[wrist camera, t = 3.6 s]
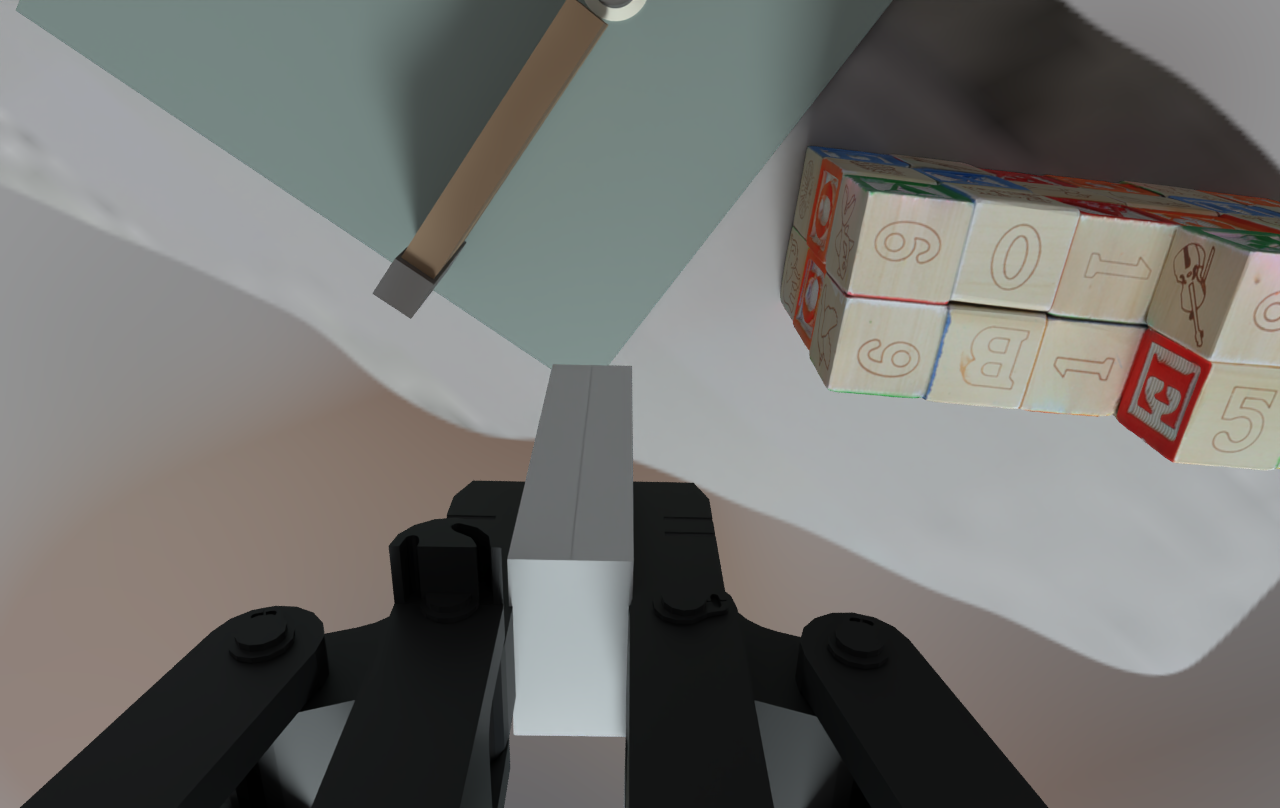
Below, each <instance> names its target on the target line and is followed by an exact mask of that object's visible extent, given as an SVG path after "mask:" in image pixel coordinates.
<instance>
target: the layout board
mask: <svg viewBox="0 0 1280 808" xmlns="http://www.w3.org/2000/svg"><path fill="white" fill-rule="evenodd" d="M565 1H566V0H20V1H19V4H18V6H17V8H16V11H17V12H19V13H20V14H22V15H23V16H25V17H26V18H28V19H29V20H31V21H32V22H34V23H35V24H37V25H38V26H40V27H41V28H43V29H44V30H46V31H47V32H49V33H50V34H52V35H53V36H55V37H56V38H58V39H59V40H61V41H62V42H64V43H65V44H67V45H68V46H70V47H71V48H73V49H74V50H76V51H77V52H79V53H80V54H82V55H83V56H85V57H86V58H87V59H89V60H90V61H92V62H93V63H95V64H96V65H98V66H99V67H101V68H102V69H104V70H105V71H107V72H108V73H110V74H111V75H113V76H114V77H116V78H117V79H119V80H120V81H122V82H123V83H125V84H126V85H128V86H129V87H131V88H132V89H134V90H135V91H137V92H138V93H140V94H141V95H143V96H144V97H146V98H147V99H149V100H150V101H152V102H153V103H155V104H156V105H158V106H159V107H161V108H162V109H164V110H165V111H167V112H168V113H170V114H171V115H173V116H174V117H176V118H177V119H179V120H180V121H182V122H183V123H185V124H186V125H187V126H189V127H190V128H192V129H193V130H195V131H196V132H198V133H199V134H201V135H202V136H204V137H205V138H207V139H208V140H210V141H211V142H213V143H214V144H216V145H217V146H219V147H220V148H222V149H223V150H225V151H226V152H228V153H229V154H231V155H232V156H234V157H235V158H237V159H238V160H240V161H241V162H243V163H244V164H246V165H247V166H249V167H250V168H252V169H253V170H255V171H256V172H258V173H259V174H261V175H262V176H264V177H265V178H267V179H268V180H270V181H271V182H273V183H274V184H276V185H277V186H279V187H280V188H282V189H283V190H284V191H286V192H287V193H289V194H290V195H292V196H293V197H295V198H296V199H298V200H299V201H301V202H302V203H304V204H305V205H307V206H308V207H310V208H311V209H313V210H314V211H316V212H317V213H319V214H320V215H322V216H323V217H325V218H326V219H328V220H329V221H331V222H332V223H334V224H335V225H337V226H338V227H340V228H341V229H343V230H344V231H346V232H347V233H349V234H350V235H352V236H353V237H355V238H356V239H358V240H359V241H361V242H362V243H364V244H365V245H367V246H368V247H370V248H371V249H373V250H374V251H376V252H377V253H379V254H380V255H382V256H383V257H384V258H386V259H387V260H389V261H390V262H393V261H394V259H395V258H396V257H397V256H398V255H399V254H400V253H401V252H402V251H403V250H404V249H405V248H406V247H408V246H409V244H410V242H411V241H412V239H413V238H414V236H415V235H416V233H417V232H418V230H419V228H420V227H421V225H422V224H423V222H424V221H425V219H426V218H427V216H428V214H429V213H430V211H431V210H432V208H433V207H434V205H435V204H436V202H437V200H438V199H439V197H440V196H441V194H442V193H443V191H444V190H445V188H446V186H447V185H448V183H449V182H450V180H451V179H452V177H453V176H454V174H455V172H456V171H457V169H458V168H459V166H460V165H461V163H462V162H463V160H464V158H465V157H466V155H467V154H468V152H469V151H470V149H471V148H472V146H473V144H474V143H475V141H476V140H477V138H478V137H479V135H480V134H481V132H482V130H483V129H484V127H485V126H486V124H487V123H488V121H489V120H490V118H491V116H492V115H493V113H494V112H495V110H496V109H497V107H498V106H499V104H500V102H501V101H502V99H503V98H504V96H505V95H506V93H507V92H508V90H509V88H510V87H511V85H512V84H513V82H514V81H515V79H516V78H517V76H518V74H519V73H520V71H521V70H522V68H523V67H524V65H525V64H526V62H527V60H528V59H529V57H530V56H531V54H532V53H533V51H534V50H535V48H536V46H537V45H538V43H539V42H540V40H541V39H542V37H543V36H544V34H545V32H546V31H547V29H548V28H549V26H550V25H551V23H552V22H553V20H554V18H555V17H556V15H557V14H558V12H559V11H560V9H561V8H562V6H563V4H564V3H565ZM578 1H580V2H581V3H582V4H583V5H585V6H586V7H587V8H588V9H590V10H591V11H592V12H593V13H595V14H596V15H597V16H598V17H599V18H601V19H602V20H603V21H604V22H606V23H607V24H608V27H607V28H606V30H605V31H604V33H603V34H602V36H601V37H600V39H599V40H598V42H597V43H596V45H595V46H594V48H593V49H592V51H591V52H590V54H589V55H588V57H587V58H586V60H585V61H584V63H583V64H582V66H581V67H580V69H579V70H578V72H577V73H576V75H575V76H574V78H573V79H572V81H571V82H570V84H569V85H568V87H567V88H566V90H565V91H564V93H563V94H562V96H561V97H560V99H559V100H558V102H557V103H556V105H555V106H554V108H553V109H552V111H551V112H550V114H549V115H548V117H547V118H546V120H545V121H544V123H543V124H542V126H541V127H540V129H539V130H538V132H537V133H536V135H535V136H534V138H533V139H532V141H531V142H530V143H529V145H528V146H527V148H526V149H525V151H524V152H523V154H522V155H521V157H520V158H519V160H518V161H517V163H516V164H515V166H514V167H513V169H512V170H511V172H510V173H509V175H508V176H507V178H506V179H505V181H504V182H503V184H502V185H501V187H500V188H499V190H498V191H497V193H496V194H495V196H494V197H493V199H492V200H491V202H490V203H489V205H488V206H487V208H486V209H485V211H484V212H483V214H482V215H481V217H480V218H479V220H478V221H477V223H476V224H475V226H474V227H473V229H472V230H471V232H470V233H469V235H468V236H467V238H466V239H465V242H467V243H466V244H465V246H464V247H463V249H462V250H461V252H460V253H459V255H458V256H457V258H456V259H455V261H454V262H453V264H452V265H451V267H450V268H449V270H448V271H447V273H446V274H445V275H444V276H443V278H442V279H441V280H440V282H439V283H438V284H437V286H436V287H435V288H434V289H433V290H434V291H435V292H437V293H438V294H440V295H441V296H443V297H444V298H446V299H447V300H449V301H450V302H452V303H453V304H455V305H456V306H458V307H459V308H461V309H462V310H464V311H465V312H467V313H468V314H470V315H471V316H473V317H474V318H476V319H477V320H479V321H480V322H481V323H483V324H484V325H486V326H487V327H489V328H490V329H492V330H493V331H495V332H496V333H498V334H499V335H501V336H502V337H504V338H505V339H507V340H508V341H510V342H511V343H513V344H514V345H516V346H517V347H519V348H520V349H522V350H523V351H525V352H526V353H528V354H529V355H531V356H532V357H534V358H535V359H537V360H538V361H540V362H541V363H543V364H544V365H546V366H547V367H549V368H550V369H552V366H553V364H565V365H607V366H608V365H609V364H610V363H611V361H612V360H613V359H614V357H615V356H616V355H617V354H618V352H619V351H620V350H621V348H622V347H623V346H624V345H625V343H626V342H627V341H628V339H629V338H630V337H631V336H632V334H633V333H634V332H635V330H636V329H637V328H638V327H639V325H640V324H641V323H642V321H643V320H644V319H645V318H646V316H647V315H648V314H649V312H650V311H651V310H652V309H653V307H654V306H655V305H656V303H657V302H658V301H659V300H660V298H661V297H662V296H663V295H664V293H665V292H666V291H667V289H668V288H669V287H670V286H671V284H672V283H673V282H674V280H675V279H676V278H677V277H678V275H679V274H680V273H681V271H682V270H683V269H684V268H685V266H686V265H687V264H688V262H689V261H690V260H691V259H692V257H693V256H694V255H695V253H696V252H697V251H698V250H699V248H700V247H701V246H702V244H703V243H704V242H705V241H706V239H707V238H708V237H709V235H710V234H711V233H712V232H713V230H714V229H715V228H716V226H717V225H718V224H719V223H720V221H721V220H722V219H723V217H724V216H725V215H726V214H727V212H728V211H729V210H730V208H731V207H732V206H733V205H734V203H735V202H736V201H737V200H738V198H739V197H740V196H741V194H742V193H743V192H744V191H745V189H746V188H747V187H748V185H749V184H750V183H751V182H752V180H753V179H754V178H755V176H756V175H757V174H758V173H759V171H760V170H761V169H762V167H763V166H764V165H765V164H766V162H767V161H768V160H769V158H770V157H771V156H772V155H773V153H774V152H775V151H776V149H777V148H778V147H779V146H780V144H781V143H782V142H783V140H784V139H785V138H786V137H787V135H788V134H789V133H790V131H791V130H792V129H793V128H794V126H795V125H796V124H797V122H798V121H799V120H800V119H801V117H802V116H803V115H804V113H805V112H806V111H807V110H808V108H809V107H810V106H811V105H812V103H813V102H814V101H815V99H816V98H817V97H818V96H819V94H820V93H821V92H822V90H823V89H824V88H825V87H826V85H827V84H828V83H829V81H830V80H831V79H832V78H833V76H834V75H835V74H836V72H837V71H838V70H839V69H840V67H841V66H842V65H843V63H844V62H845V61H846V60H847V58H848V57H849V56H850V54H851V53H852V52H853V51H854V49H855V48H856V47H857V45H858V44H859V43H860V42H861V40H862V39H863V38H864V36H865V35H866V34H867V33H868V31H869V30H870V29H871V27H872V26H873V25H874V24H875V22H876V21H877V20H878V18H879V17H880V16H881V15H882V13H883V12H884V11H885V10H886V8H887V7H888V6H889V4H890V3H891V2H892V1H893V0H632V1H631V2H630V3H629V4H628V5H626V6H624V7H622V8H609V7H607V6H605V5H603V4H602V3H601V2H600V1H599V0H578Z"/></svg>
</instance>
